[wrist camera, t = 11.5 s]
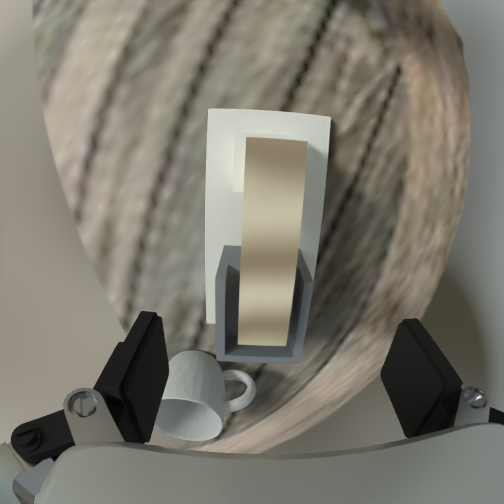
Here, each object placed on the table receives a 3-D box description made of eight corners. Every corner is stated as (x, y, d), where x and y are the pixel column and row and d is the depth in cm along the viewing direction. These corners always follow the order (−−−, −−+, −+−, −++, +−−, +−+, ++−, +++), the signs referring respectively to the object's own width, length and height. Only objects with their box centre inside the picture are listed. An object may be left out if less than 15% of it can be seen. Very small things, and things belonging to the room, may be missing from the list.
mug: (176, 388, 41) (162, 440, 31) (157, 343, 37) (135, 396, 28) (259, 383, 40) (261, 438, 30) (250, 335, 37) (249, 393, 27)
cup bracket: (209, 109, 27) (192, 96, 19) (328, 117, 27) (357, 109, 19) (207, 318, 36) (196, 367, 27) (304, 322, 36) (317, 371, 27)
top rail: (247, 138, 23) (246, 136, 18) (297, 141, 23) (308, 141, 18) (239, 312, 28) (237, 344, 24) (281, 314, 28) (285, 346, 24)
